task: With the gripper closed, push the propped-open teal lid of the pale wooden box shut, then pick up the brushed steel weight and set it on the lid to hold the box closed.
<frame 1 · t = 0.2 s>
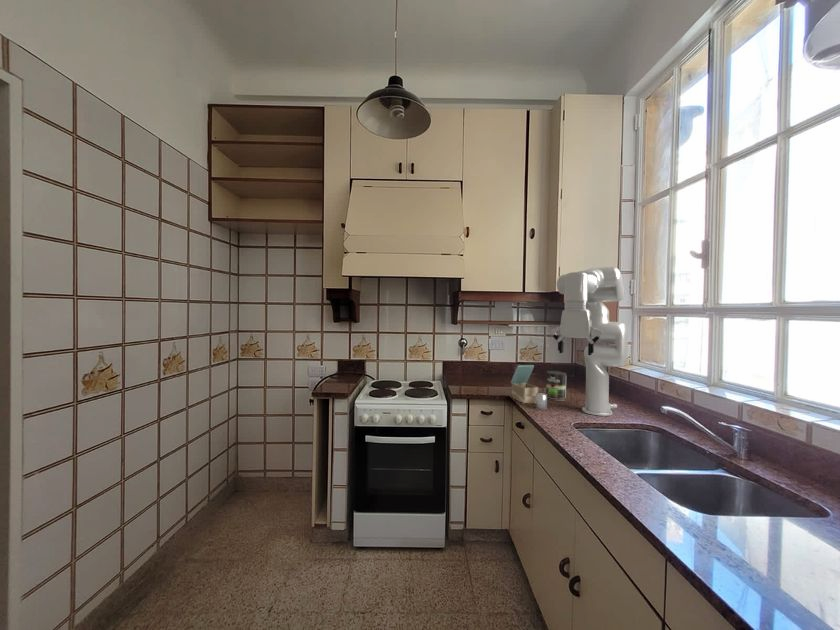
hand: (575, 353, 124), 31 cm above the counter, tool pointing down, fingers open, 9 cm apart
lid: (522, 374, 183), point 13 cm above the counter, hinge at 55.0°
glass terrarium: (556, 398, 186), on the counter
steel weight: (541, 408, 165), on the counter
box: (524, 400, 180), on the counter
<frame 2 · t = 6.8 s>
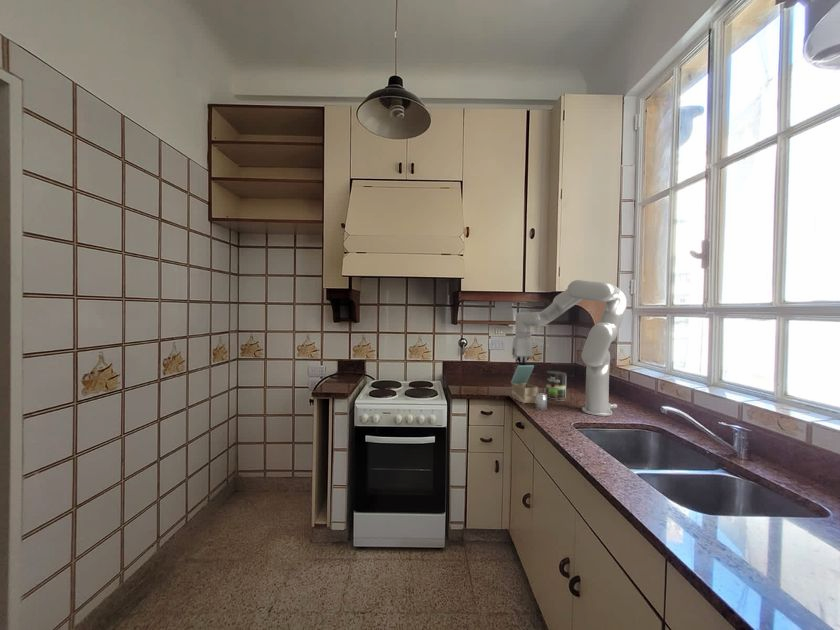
hand: (522, 369, 183), 16 cm above the counter, tool pointing down, fingers closed
lid: (522, 374, 183), point 13 cm above the counter, hinge at 54.6°, touching gripper
everything else where it was.
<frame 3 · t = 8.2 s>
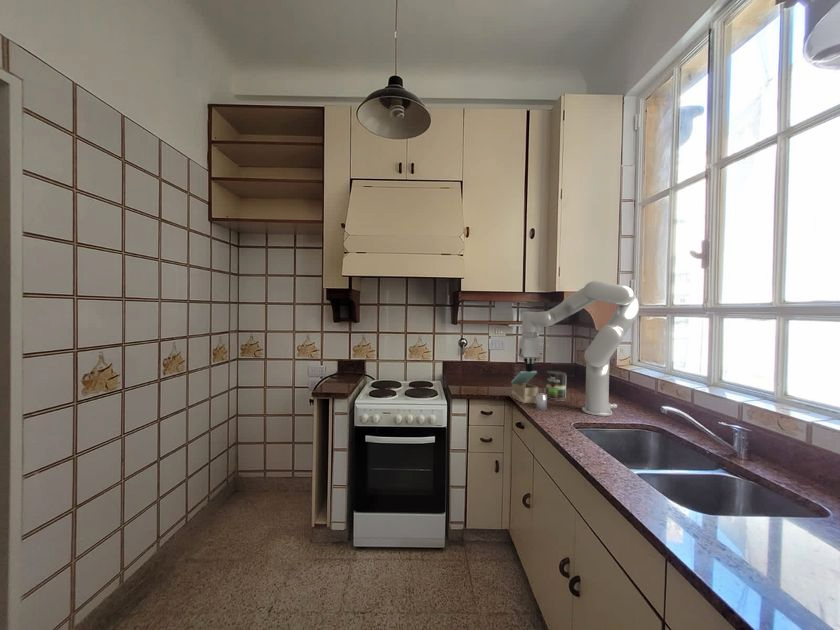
hand: (529, 371, 176), 16 cm above the counter, tool pointing down, fingers closed
lid: (523, 377, 181), point 12 cm above the counter, hinge at 36.1°, touching gripper
everything else where it was.
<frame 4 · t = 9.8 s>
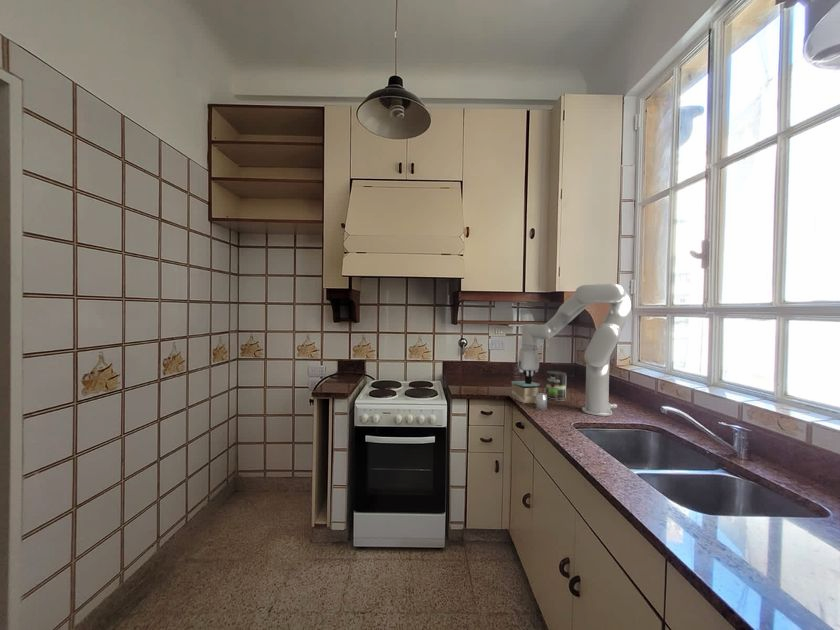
hand: (528, 383, 176), 10 cm above the counter, tool pointing down, fingers closed
lid: (525, 383, 180), point 9 cm above the counter, hinge at 3.7°, touching gripper
everything else where it was.
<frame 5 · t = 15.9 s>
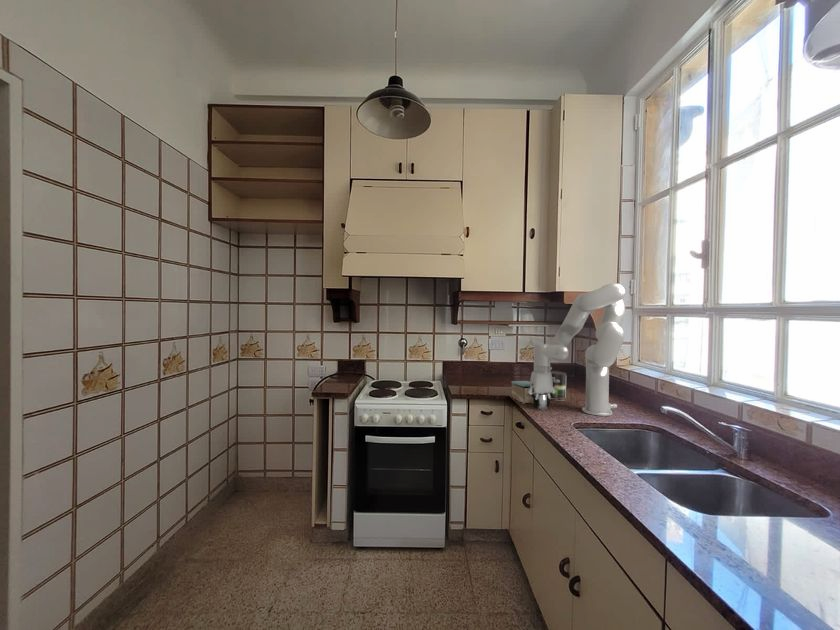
hand: (541, 406, 165), 1 cm above the counter, tool pointing down, fingers closed on steel weight, 5 cm apart
lid: (525, 383, 180), point 9 cm above the counter, hinge at 3.4°
steel weight: (541, 408, 165), on the counter, touching gripper
everything else where it was.
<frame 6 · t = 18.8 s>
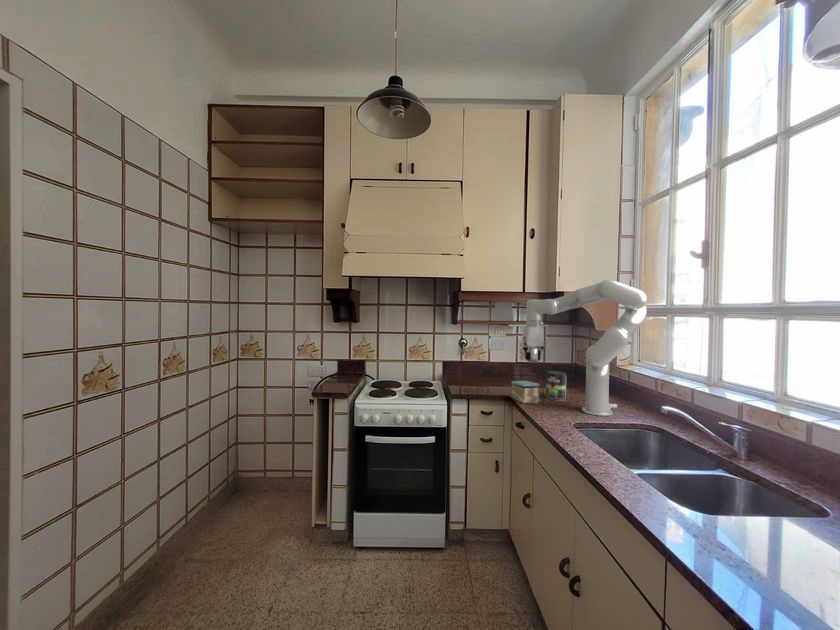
hand: (532, 359, 173), 23 cm above the counter, tool pointing down, fingers closed on steel weight, 5 cm apart
steel weight: (532, 361, 173), point 22 cm above the counter, touching gripper
everything else where it was.
when the fingers open (11 cm above the counter, at t = 21.7 s): steel weight drops 1 cm, resting on lid.
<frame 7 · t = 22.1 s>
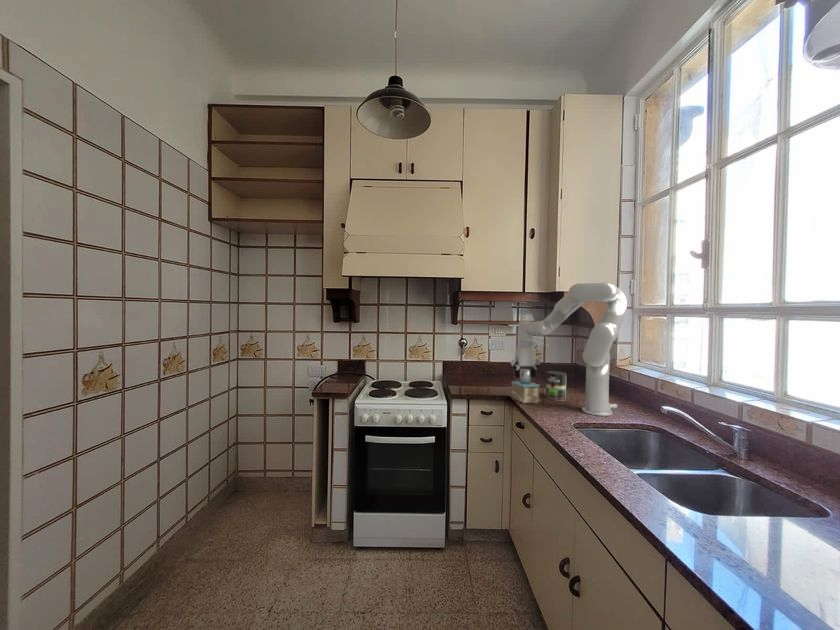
hand: (525, 377, 180), 12 cm above the counter, tool pointing down, fingers open, 9 cm apart
lid: (525, 384, 180), point 9 cm above the counter, hinge at 1.2°, touching steel weight
steel weight: (525, 383, 180), point 9 cm above the counter, touching lid
everything else where it was.
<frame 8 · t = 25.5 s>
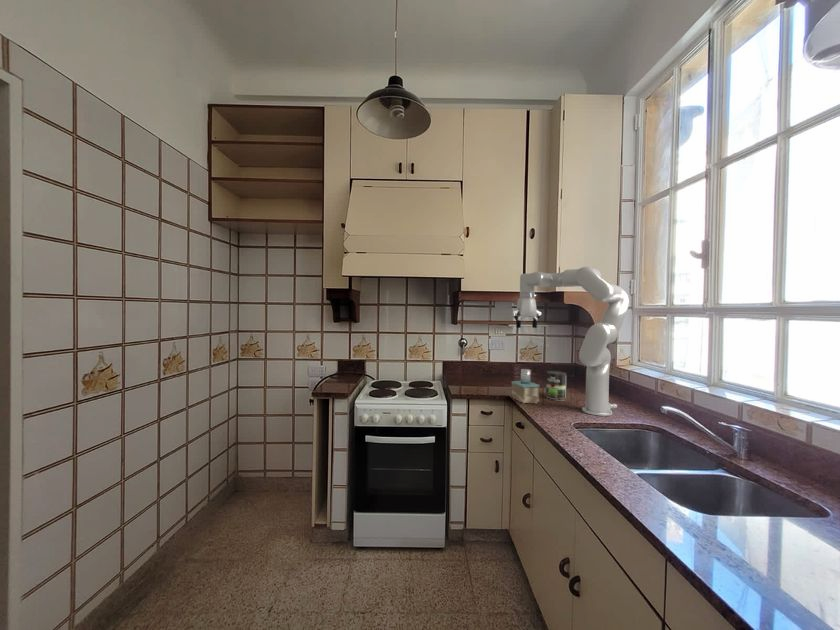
hand: (526, 327, 187), 38 cm above the counter, tool pointing down, fingers open, 9 cm apart
lid: (525, 384, 180), point 9 cm above the counter, hinge at 0.9°, touching steel weight
everything else where it was.
at the end: lid at +1° (first picture: +55°); steel weight inside the target area on the box (0.2 cm from its centre), point 9.4 cm above the box's base; steel weight tilted 2° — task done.
